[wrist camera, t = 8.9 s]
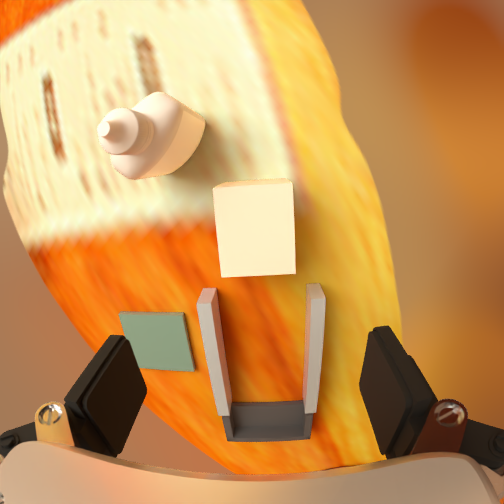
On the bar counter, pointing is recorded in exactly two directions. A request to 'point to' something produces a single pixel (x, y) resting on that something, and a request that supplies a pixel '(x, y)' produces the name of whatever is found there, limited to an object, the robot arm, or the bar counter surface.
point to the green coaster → (159, 340)
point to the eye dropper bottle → (151, 136)
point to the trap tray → (268, 422)
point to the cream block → (255, 227)
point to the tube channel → (217, 356)
